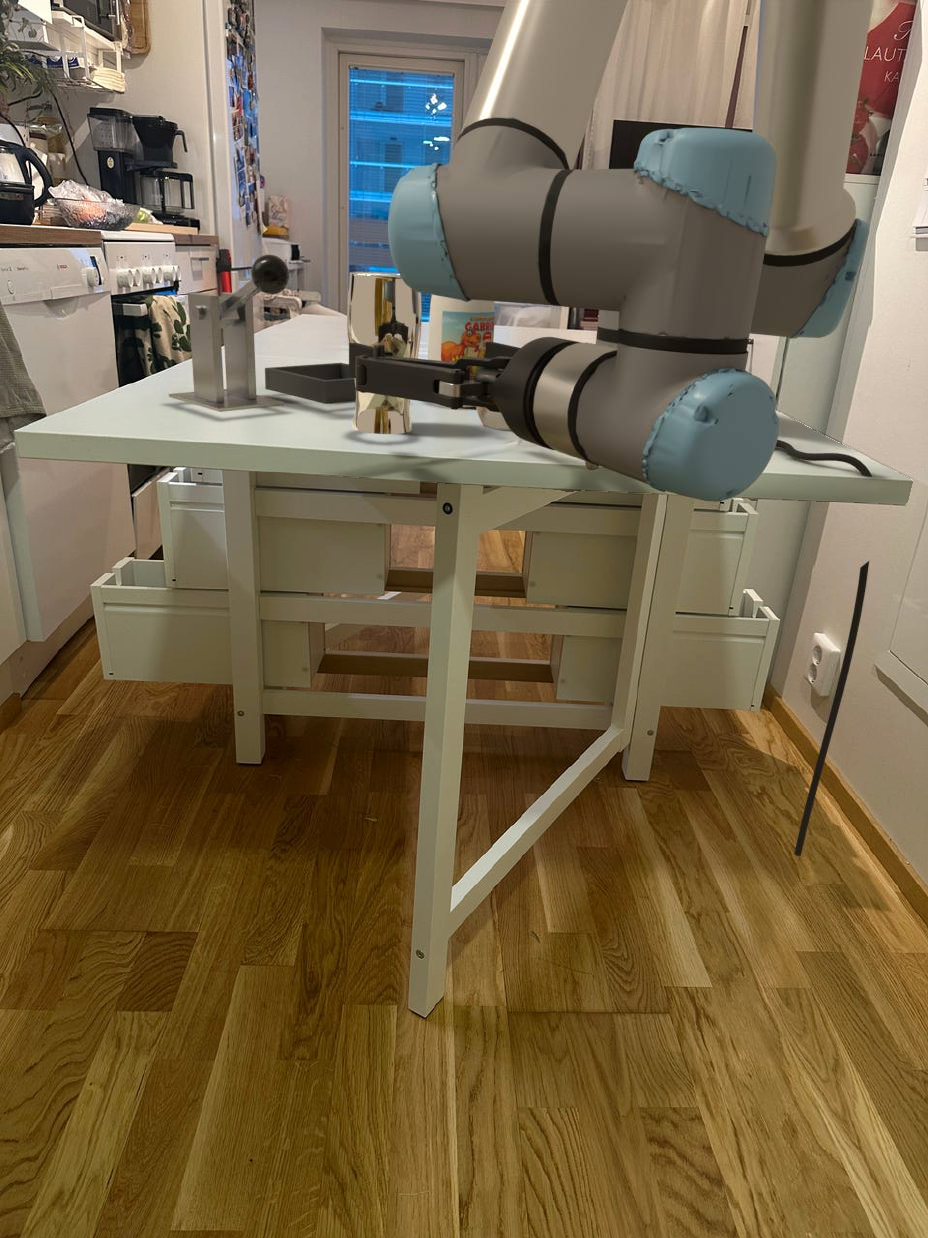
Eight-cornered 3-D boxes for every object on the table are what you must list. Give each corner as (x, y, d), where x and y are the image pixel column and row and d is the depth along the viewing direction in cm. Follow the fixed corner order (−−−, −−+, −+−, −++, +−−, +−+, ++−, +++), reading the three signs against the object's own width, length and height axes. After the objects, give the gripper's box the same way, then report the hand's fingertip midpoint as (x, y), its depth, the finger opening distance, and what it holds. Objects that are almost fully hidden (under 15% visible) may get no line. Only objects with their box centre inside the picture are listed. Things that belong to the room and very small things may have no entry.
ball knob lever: (300, 286, 85) (290, 248, 85) (269, 285, 83) (258, 247, 82) (234, 333, 95) (224, 299, 94) (204, 334, 92) (194, 300, 92)
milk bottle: (415, 403, 106) (421, 220, 98) (441, 395, 112) (448, 223, 104) (475, 411, 103) (486, 223, 95) (498, 402, 110) (510, 226, 102)
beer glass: (338, 440, 84) (337, 272, 79) (357, 427, 91) (358, 270, 85) (409, 446, 84) (414, 277, 78) (424, 432, 90) (429, 275, 84)
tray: (401, 403, 105) (402, 374, 104) (325, 411, 98) (324, 381, 96) (340, 389, 112) (340, 362, 111) (265, 396, 105) (264, 367, 103)
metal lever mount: (283, 413, 96) (280, 297, 91) (219, 420, 90) (212, 297, 86) (232, 398, 102) (227, 290, 97) (169, 404, 97) (160, 290, 92)
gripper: (411, 465, 56) (289, 407, 73) (693, 441, 69) (535, 396, 85) (415, 343, 53) (287, 311, 70) (709, 341, 66) (542, 314, 82)
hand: (423, 358), depth 78 cm, fingers open, 13 cm apart
